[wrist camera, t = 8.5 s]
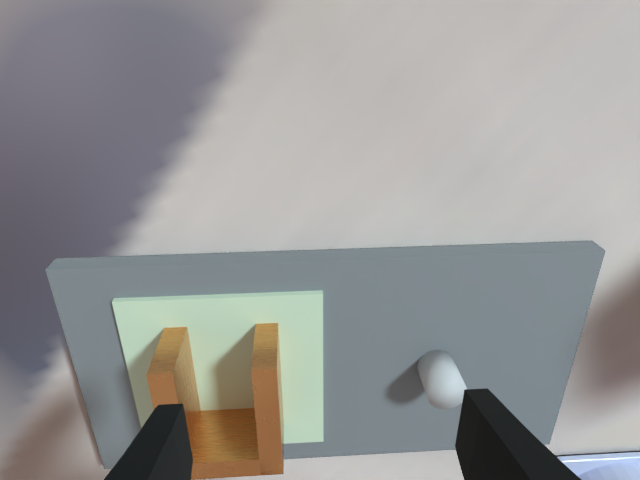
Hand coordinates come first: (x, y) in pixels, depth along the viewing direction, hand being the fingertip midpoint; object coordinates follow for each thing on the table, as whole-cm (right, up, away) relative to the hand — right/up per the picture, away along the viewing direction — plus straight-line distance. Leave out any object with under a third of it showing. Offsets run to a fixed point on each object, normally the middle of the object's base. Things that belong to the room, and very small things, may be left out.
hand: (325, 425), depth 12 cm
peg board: (0, -1, +12) cm, 12 cm away
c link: (-5, -2, +10) cm, 11 cm away
